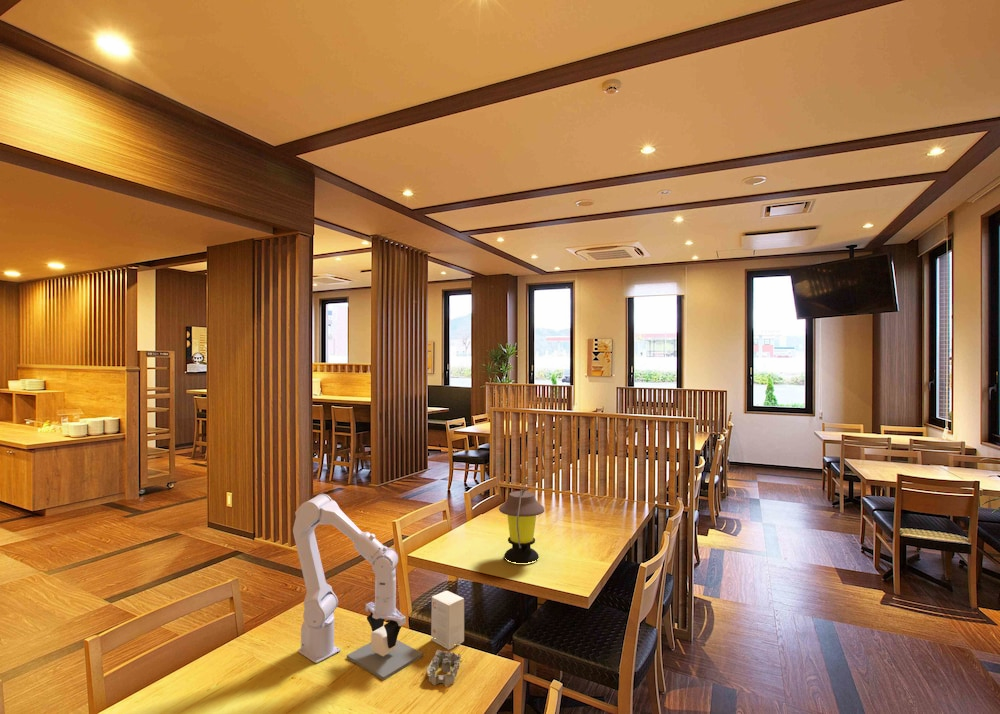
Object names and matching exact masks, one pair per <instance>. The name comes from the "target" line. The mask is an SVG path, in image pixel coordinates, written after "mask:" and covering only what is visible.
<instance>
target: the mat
mask: <svg viewBox="0 0 1000 714" xmlns="http://www.w3.org/2000/svg"><path fill="white" fill-rule="evenodd" d="M422 657H424V653H423V652H422V651H419V650H417V649H415V648H414V647H412V646H410V645H408V644H406V643H404V642H401V641H400V640H398V639H397V648H396V649H395V650H393V651H392V652H390V653H388V654H387V655H385V656H381V655H379V654H377V653H375V652H373V651H372V650H371V642H369V643H368V644H364V645H363V646H361V647H360V648H357V649H356V650H354V651H352V652H349V653H348V654H347V655H346V659H347V658H348V659H347V660H349V661H351V662H352V663H354V664H355V665H357V666H359V667H360V668H362V669H364V670H366V671H367V672H369V673H371V674H372V675H374V676H376V677H378V678H379V679H380V680H383V681H385V680H387V679H388V678H390V677H392V676H393V675H395V674H397V673H398V672H400V671H401V670H403V669H405V668H407V667H408V666H410V665H411V664H413V663H414V662H416V661H417V660H419V659H421V658H422Z"/></svg>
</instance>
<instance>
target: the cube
mask: <svg viewBox="0 0 1000 714" xmlns="http://www.w3.org/2000/svg"><path fill="white" fill-rule="evenodd" d="M370 634H371V636H370V638H371V639H370V641H371V642H370V643H371V650H372V651H373V652H375V653H377V654H379V655H381V656H385V655H387V654H388V653H390V652H392V651H393V650H395V649H396V648H397V640H398V639H397V640H396V644H395V646H393V647H392V648H388V643H387V633H386V630H385V627H384V625H383V626H382V627H380V628H379V629H377V630H375V631H371V633H370Z"/></svg>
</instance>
